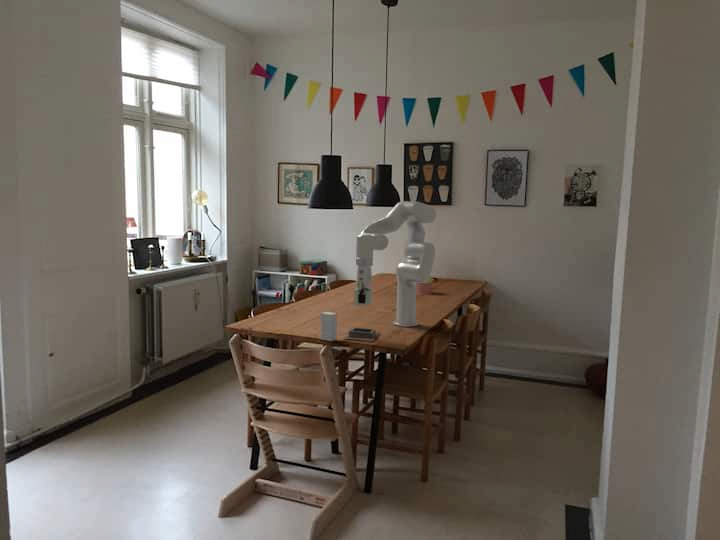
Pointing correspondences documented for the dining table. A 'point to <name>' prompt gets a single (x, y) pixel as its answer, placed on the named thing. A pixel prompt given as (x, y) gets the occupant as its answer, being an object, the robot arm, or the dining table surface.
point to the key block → (367, 299)
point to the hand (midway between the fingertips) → (362, 301)
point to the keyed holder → (362, 334)
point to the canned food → (424, 287)
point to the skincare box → (329, 326)
